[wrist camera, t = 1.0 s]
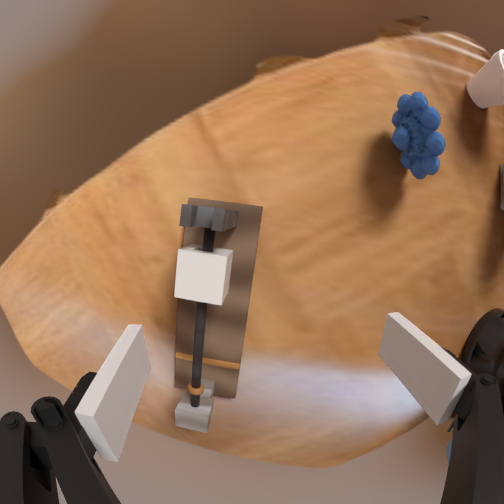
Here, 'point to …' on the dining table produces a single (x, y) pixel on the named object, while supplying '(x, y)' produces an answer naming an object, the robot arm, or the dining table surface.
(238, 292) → the sliding block rail
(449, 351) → the robot arm
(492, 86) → the foam cup
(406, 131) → the blue knobbed wheel
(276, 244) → the dining table surface
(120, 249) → the dining table surface
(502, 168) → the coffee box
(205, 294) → the sleeve
